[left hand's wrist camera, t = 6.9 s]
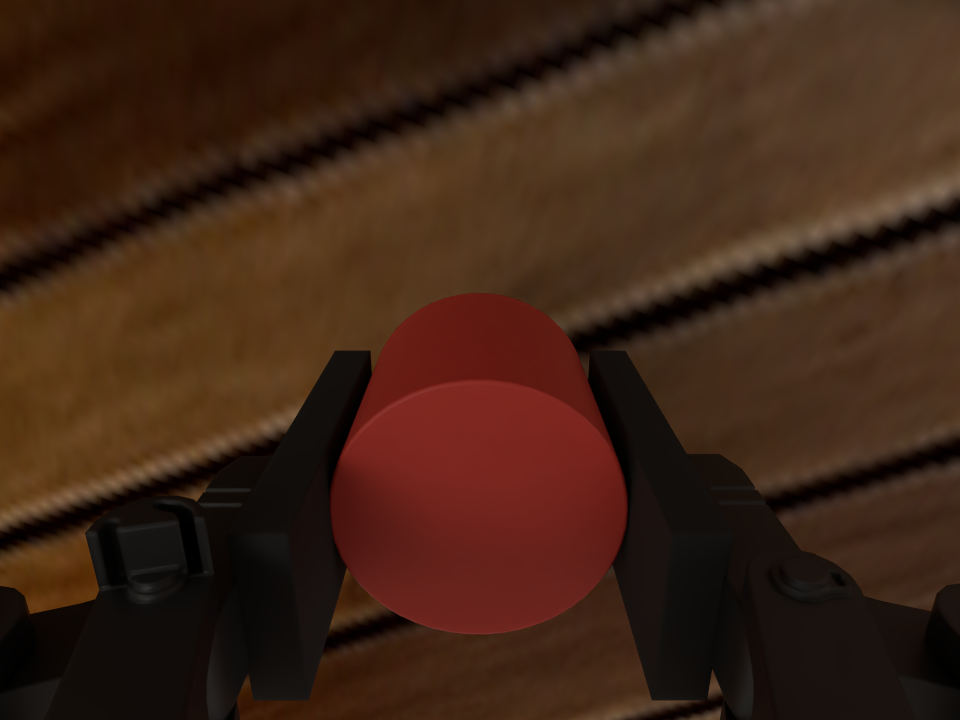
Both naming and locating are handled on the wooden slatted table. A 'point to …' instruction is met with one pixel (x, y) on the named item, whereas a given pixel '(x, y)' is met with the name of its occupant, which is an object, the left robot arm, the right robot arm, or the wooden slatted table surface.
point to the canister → (478, 472)
